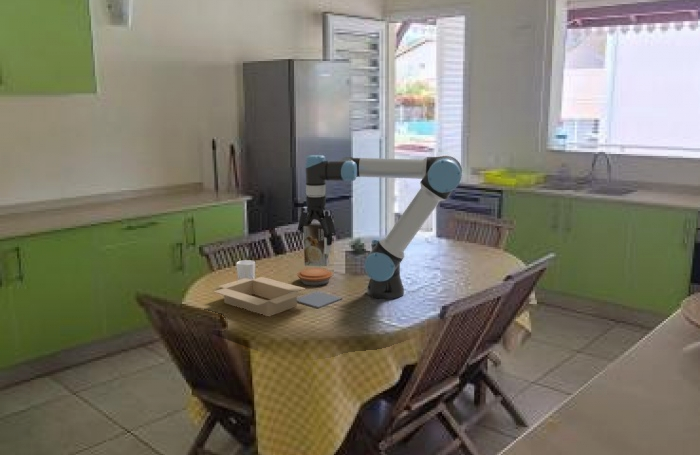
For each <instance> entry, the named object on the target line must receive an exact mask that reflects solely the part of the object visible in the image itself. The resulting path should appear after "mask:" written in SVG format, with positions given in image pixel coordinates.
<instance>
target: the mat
mask: <svg viewBox="0 0 700 455" xmlns="http://www.w3.org/2000/svg"><path fill="white" fill-rule="evenodd" d="M342 300H343V297H339V296H336V295H332V294H329V293H325V292H321V291H317V290H316V291H314V292H310V293H308V294H305V295H304V294H303V295H301V296H298V297H297V304H301V305H305V306H309V307H312V308H316V309H321V308H324V307H326V306H329V305H331V304H334V303H336V302H339V301H342Z"/></svg>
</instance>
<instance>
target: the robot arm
mask: <svg viewBox="0 0 700 455" xmlns="http://www.w3.org/2000/svg"><path fill="white" fill-rule="evenodd" d="M304 169H305V194H306V195H307V196H306V197H305V200H306V201H305V202H306V206H303V207H300V213H301V214H300V217H299V221H298V225H297V231H300V233H301V240H302V249H303V250H304V228H303V226H304V225H305V224H309V223H313V220H315V221H317V223H320V224H321V226H322V229H323V231H324V233H325V235H326V237H324V253H325V254H328V253H329V254H330V253H331V252H332V250H331V248H332V247H331V245H332V244H333V243H332V241H333V240H332V237H334V236H336V235H337V234H336V229H335V225H334V220H333V217H332V210H330V209H329V210H326V209H325V206H326V204H327V202H326V201H327V200H326V196H325V195H326V182H327V181H333V182H334V181H335V182H353V181H356V179H357V178H383V179H384V178H386V179H388V178H389V179H413V180H415V179H416V180H417V179H418V180H420V183H419V184H420V189H418V192H417V193H416V194H415V196H414V197H413V198H412V200H411V202H409V204H408V206H407V207H406V209H405V210H404V211H403V213H402V214H401V216H400V217H399V218H398V220H397V221H396V223H395V224H394V225H393V227H392V229H391V230H390V231H389V233H388V234H387V235H386V237H385V238H373V239H372V240H371V244H370V246H371V251H370V253H369V254H368V255H367V257H365V259H364V265H363V266H364V271H365V273H366V275H367V276H368V277H369V278H370V279H369V282H368V285H367V290H366V291H367V292H366V293H367V295H368V296H370V297H372V298H375V299H380V300H391V299H398V298H401V297H402V296H404V294H405V288H404V285H403V282H402V278H401V272H400V271H401V263H402V262H403V260H404V259H405V250H406V249H407V248H408V246H409V245H410V243H411V242H412V240H413V239H414V238H415V236H417V234H418V232H419V231H420V229H421V228H423V225H424V224H425V223H426V221H427V220H428V219H429V217H430V215H431V214H432V213H433V211H434V210H435V209H436V208H437V206H438V204H439V203H440V202H444V201H446V200H448V198H449V196H450V195H451V193H453V191H454V190H455V189H456V188H458V186H459V184H460V183H461V181H462V176H463V175H462V172H463V170H462V165H461V162H460V161H458V159H456V158H455V157H454V156H453V157H452V156H450V155H442V156H426V157H425V158H423V159H419V158H418V159H417V158H380V157H379V158H372V157H370V158H369V157H368V158H367V157H363V158H362V157H352V156H346V157H343V158H342V159H340V160H326V156H325V155H322V154H321V155H320V154H312V155H310V154H309V155H308V156H306V158H305V167H304Z"/></svg>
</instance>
